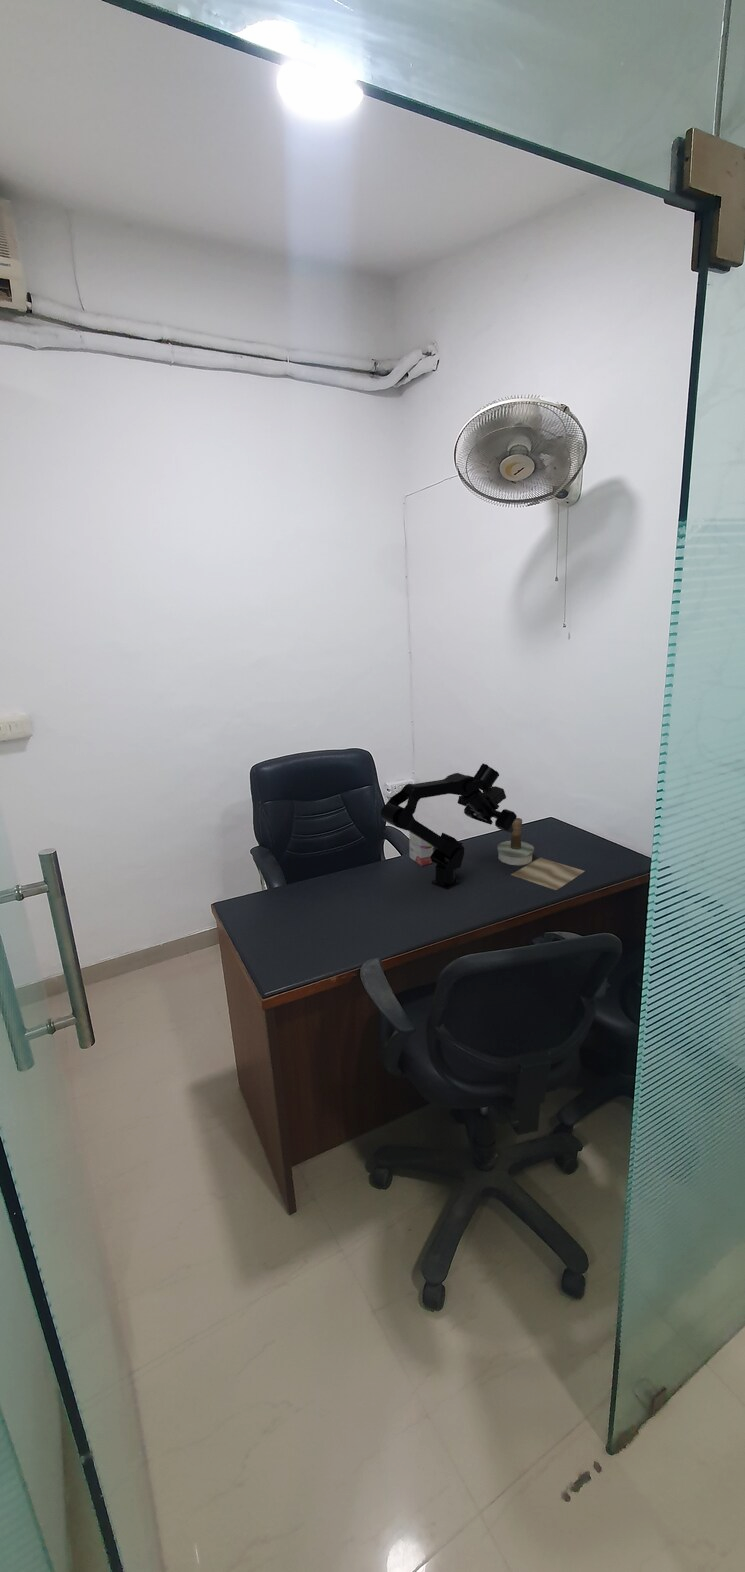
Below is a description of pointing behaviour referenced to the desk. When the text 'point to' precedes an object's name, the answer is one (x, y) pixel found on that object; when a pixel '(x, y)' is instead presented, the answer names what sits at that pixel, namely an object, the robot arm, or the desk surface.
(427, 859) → the ink cartridge box
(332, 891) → the desk surface
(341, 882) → the desk surface
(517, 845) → the lid
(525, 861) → the bowl
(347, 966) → the desk surface
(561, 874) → the mat
